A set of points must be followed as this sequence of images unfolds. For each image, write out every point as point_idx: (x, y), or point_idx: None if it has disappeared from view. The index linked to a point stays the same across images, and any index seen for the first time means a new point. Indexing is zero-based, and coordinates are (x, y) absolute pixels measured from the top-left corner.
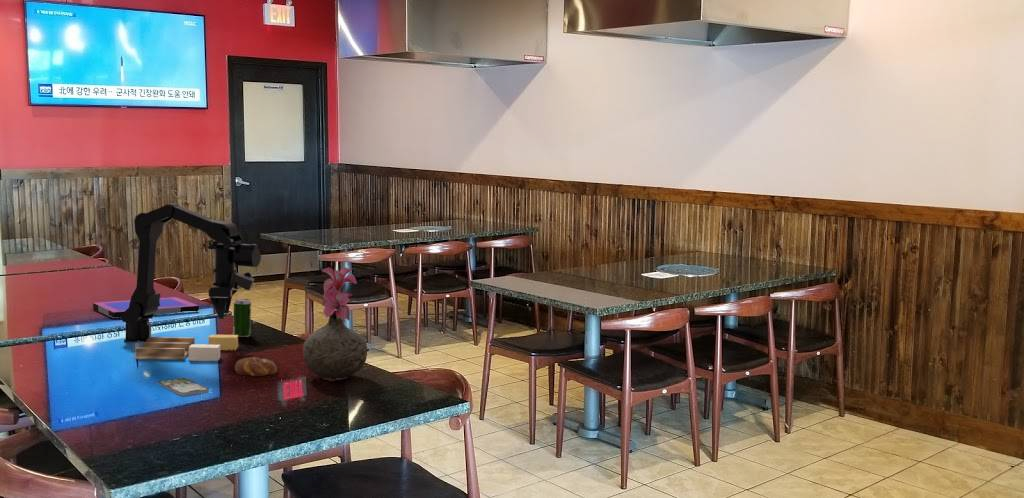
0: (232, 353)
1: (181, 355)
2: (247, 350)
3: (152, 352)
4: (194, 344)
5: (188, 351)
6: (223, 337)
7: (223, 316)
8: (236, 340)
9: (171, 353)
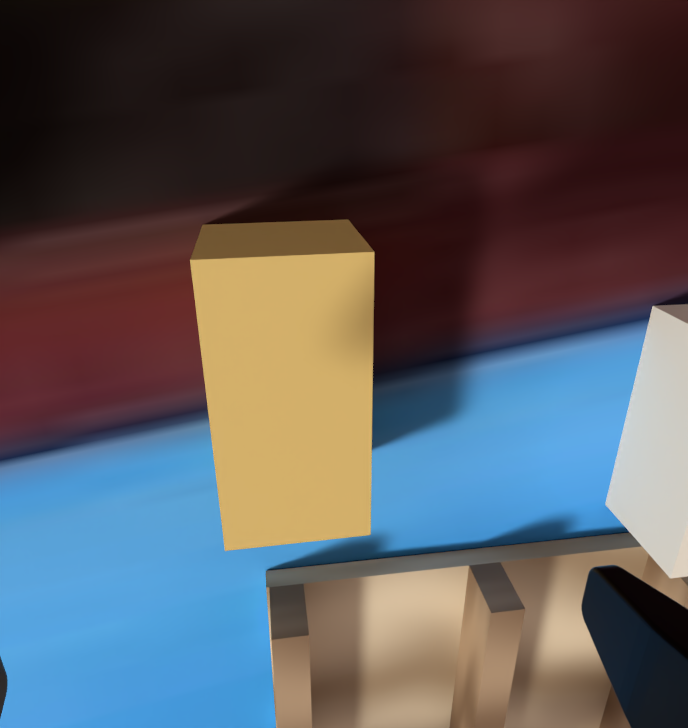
0: (499, 229)
1: None
2: (358, 88)
3: None
4: (684, 557)
5: (518, 560)
6: (370, 400)
7: (656, 590)
8: (354, 242)
9: None
